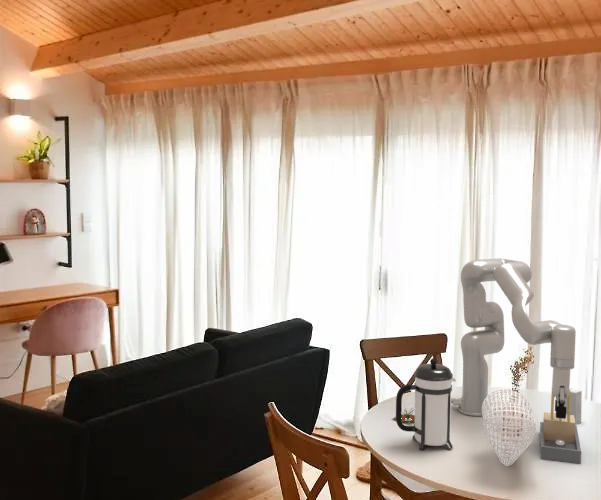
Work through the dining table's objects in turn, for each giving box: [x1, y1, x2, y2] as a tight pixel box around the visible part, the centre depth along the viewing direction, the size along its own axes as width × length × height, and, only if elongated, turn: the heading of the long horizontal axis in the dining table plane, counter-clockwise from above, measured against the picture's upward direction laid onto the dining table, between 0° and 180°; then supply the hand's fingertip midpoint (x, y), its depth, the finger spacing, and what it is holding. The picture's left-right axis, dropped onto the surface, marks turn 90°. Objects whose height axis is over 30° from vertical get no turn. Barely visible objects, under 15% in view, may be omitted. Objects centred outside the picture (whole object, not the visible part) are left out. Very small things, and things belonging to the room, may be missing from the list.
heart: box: [481, 388, 537, 467], centre depth 213 cm, size 28×16×22 cm, turn 167°
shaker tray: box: [539, 411, 582, 465], centre depth 229 cm, size 12×24×8 cm, turn 161°
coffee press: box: [395, 357, 457, 452], centre depth 230 cm, size 17×16×30 cm
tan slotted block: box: [550, 389, 571, 425], centre depth 228 cm, size 6×6×11 cm
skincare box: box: [566, 387, 583, 425], centre depth 253 cm, size 6×4×12 cm
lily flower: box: [392, 408, 415, 426], centre depth 255 cm, size 12×12×5 cm
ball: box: [555, 439, 565, 448], centre depth 224 cm, size 3×3×3 cm
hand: (560, 414), depth 228 cm, fingers closed on tan slotted block, 5 cm apart
